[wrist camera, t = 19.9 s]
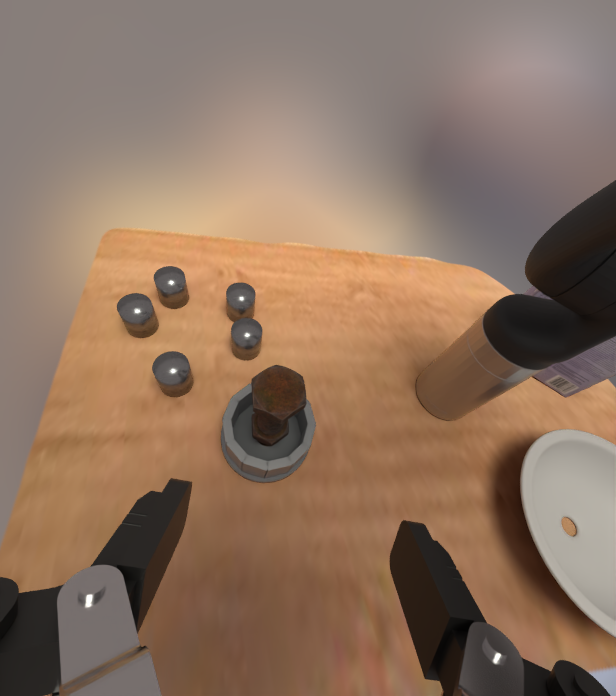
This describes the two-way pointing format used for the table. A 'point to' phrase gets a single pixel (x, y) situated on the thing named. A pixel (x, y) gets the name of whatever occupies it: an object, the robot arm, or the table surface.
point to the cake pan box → (579, 365)
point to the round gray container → (255, 457)
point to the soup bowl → (575, 516)
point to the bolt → (275, 403)
